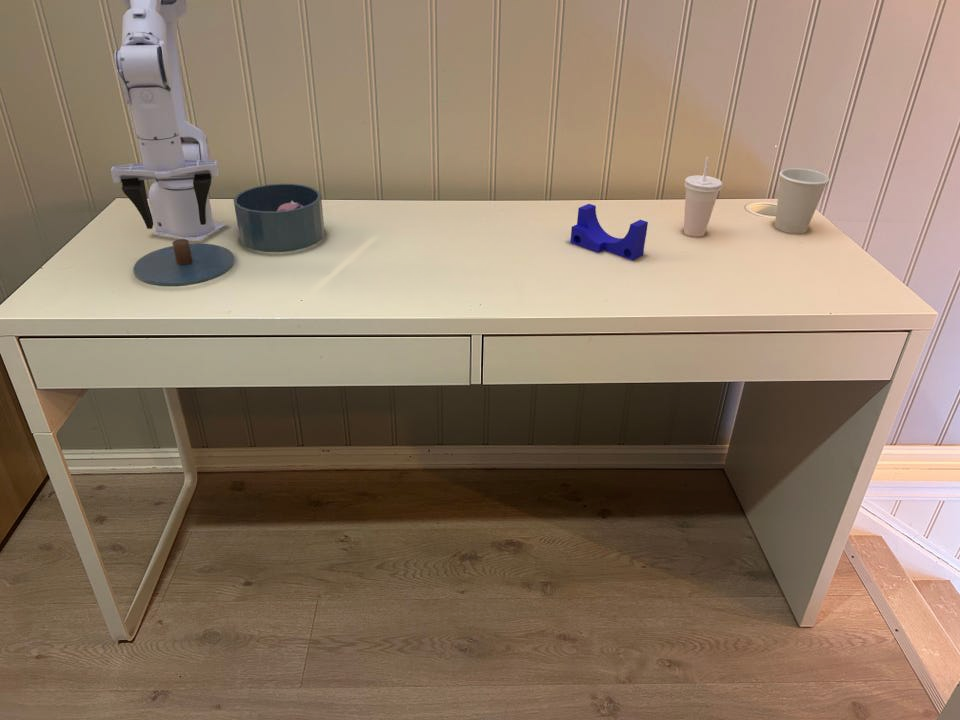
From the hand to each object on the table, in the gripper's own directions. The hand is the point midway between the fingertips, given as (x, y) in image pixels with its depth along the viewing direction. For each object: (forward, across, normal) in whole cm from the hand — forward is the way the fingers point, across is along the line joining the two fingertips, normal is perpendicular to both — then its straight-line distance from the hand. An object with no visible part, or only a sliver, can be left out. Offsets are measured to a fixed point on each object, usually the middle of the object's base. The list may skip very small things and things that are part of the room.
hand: (177, 224), depth 112 cm
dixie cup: (+8, +107, -6) cm, 107 cm away
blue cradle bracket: (+8, +69, -8) cm, 70 cm away
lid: (+7, 0, 0) cm, 7 cm away
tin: (+7, +15, +9) cm, 19 cm away
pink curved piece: (+7, +15, +9) cm, 19 cm away
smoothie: (+8, +88, -5) cm, 88 cm away
